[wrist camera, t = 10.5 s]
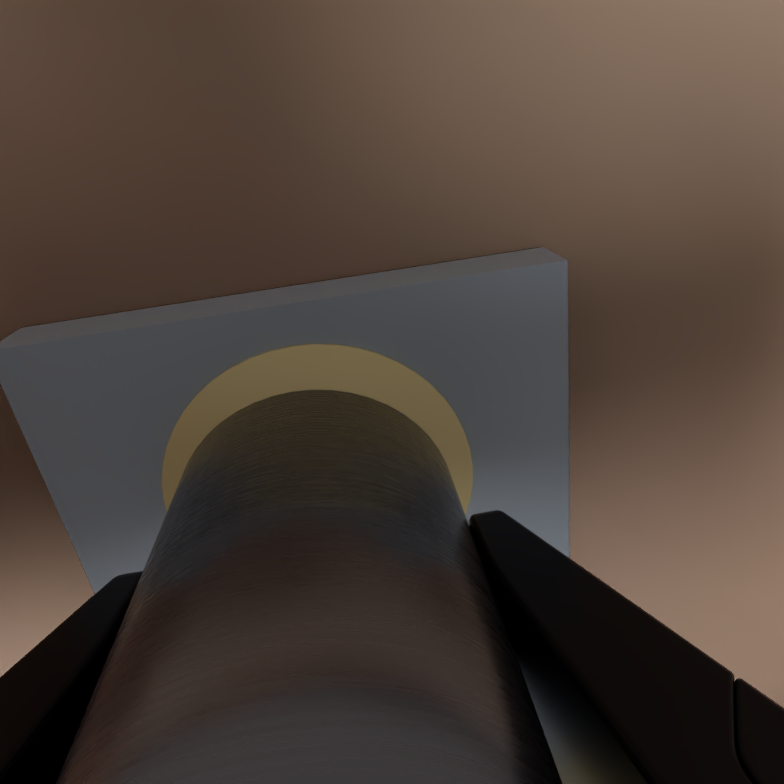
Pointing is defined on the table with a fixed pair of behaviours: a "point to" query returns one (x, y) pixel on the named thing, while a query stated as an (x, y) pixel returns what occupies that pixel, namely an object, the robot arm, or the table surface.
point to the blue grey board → (302, 388)
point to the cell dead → (313, 619)
